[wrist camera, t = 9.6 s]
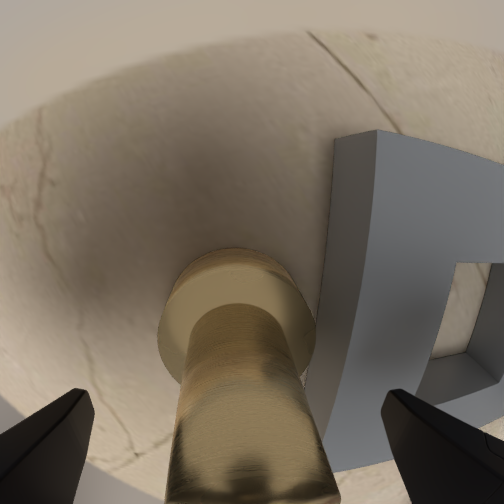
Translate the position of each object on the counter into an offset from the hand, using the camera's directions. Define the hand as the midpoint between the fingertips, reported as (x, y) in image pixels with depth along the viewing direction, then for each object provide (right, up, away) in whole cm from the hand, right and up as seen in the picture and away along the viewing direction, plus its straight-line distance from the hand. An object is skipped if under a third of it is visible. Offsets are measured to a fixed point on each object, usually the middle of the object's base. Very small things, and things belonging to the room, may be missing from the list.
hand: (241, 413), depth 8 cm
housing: (+11, +1, +7) cm, 14 cm away
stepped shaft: (0, +2, +6) cm, 6 cm away
